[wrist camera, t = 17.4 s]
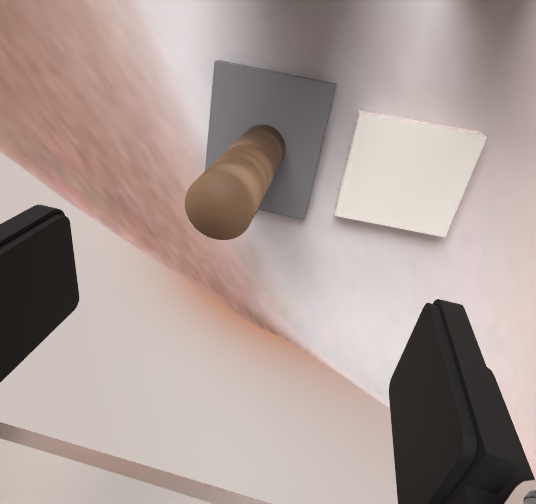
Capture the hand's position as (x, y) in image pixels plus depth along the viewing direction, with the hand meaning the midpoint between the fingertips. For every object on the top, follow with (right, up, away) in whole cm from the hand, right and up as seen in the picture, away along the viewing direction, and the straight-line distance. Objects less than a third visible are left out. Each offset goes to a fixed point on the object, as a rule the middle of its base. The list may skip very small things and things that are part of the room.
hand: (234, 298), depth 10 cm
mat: (+1, +11, +25) cm, 28 cm away
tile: (+17, +7, +23) cm, 30 cm away
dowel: (0, +10, +24) cm, 27 cm away
